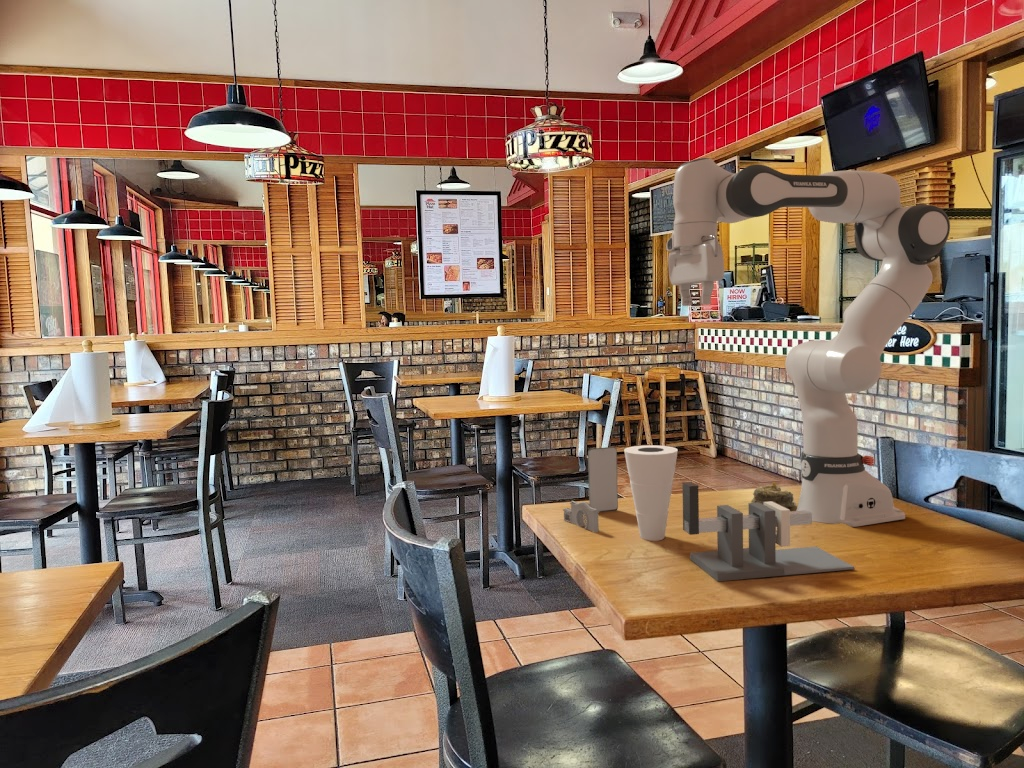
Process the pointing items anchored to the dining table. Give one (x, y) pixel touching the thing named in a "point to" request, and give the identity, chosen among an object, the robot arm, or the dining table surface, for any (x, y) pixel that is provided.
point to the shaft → (715, 524)
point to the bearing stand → (732, 555)
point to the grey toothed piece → (582, 510)
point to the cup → (651, 486)
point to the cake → (773, 495)
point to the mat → (808, 561)
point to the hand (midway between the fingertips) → (695, 305)
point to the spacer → (781, 523)
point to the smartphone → (603, 478)
